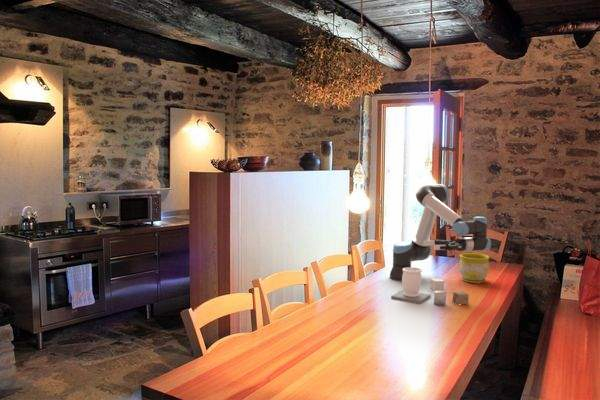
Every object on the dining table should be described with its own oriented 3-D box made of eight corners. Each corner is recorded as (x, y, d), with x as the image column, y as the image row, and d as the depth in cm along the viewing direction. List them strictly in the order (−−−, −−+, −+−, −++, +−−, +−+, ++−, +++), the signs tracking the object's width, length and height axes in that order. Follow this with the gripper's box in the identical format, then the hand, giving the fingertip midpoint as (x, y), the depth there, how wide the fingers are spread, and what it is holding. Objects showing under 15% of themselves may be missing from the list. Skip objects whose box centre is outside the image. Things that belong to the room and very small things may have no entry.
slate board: (402, 292, 297) (402, 289, 297) (430, 297, 287) (430, 294, 287) (391, 298, 284) (391, 295, 284) (420, 303, 274) (420, 301, 274)
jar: (419, 293, 290) (420, 267, 288) (422, 298, 280) (422, 271, 278) (400, 292, 291) (401, 266, 289) (402, 297, 281) (403, 271, 279)
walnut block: (452, 302, 278) (452, 291, 278) (462, 301, 279) (462, 291, 279) (457, 305, 272) (458, 294, 272) (468, 304, 274) (468, 294, 273)
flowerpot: (492, 284, 316) (493, 259, 314) (463, 284, 316) (464, 258, 314) (482, 277, 333) (483, 253, 332) (455, 277, 334) (456, 252, 332)
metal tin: (436, 302, 278) (436, 289, 277) (447, 304, 275) (447, 291, 274) (432, 304, 273) (432, 292, 272) (443, 306, 270) (443, 294, 269)
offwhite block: (430, 288, 306) (430, 278, 305) (439, 288, 307) (439, 278, 306) (434, 291, 300) (435, 281, 299) (444, 290, 301) (444, 280, 300)
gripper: (474, 255, 276) (438, 256, 273) (453, 246, 301) (419, 247, 297) (475, 241, 276) (438, 242, 272) (453, 234, 300) (420, 234, 296)
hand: (428, 245), depth 285 cm, fingers open, 13 cm apart
